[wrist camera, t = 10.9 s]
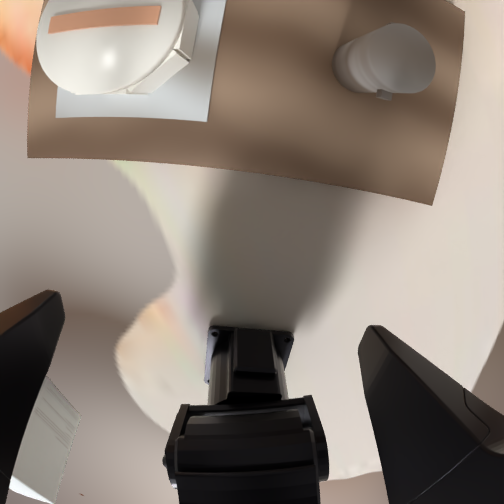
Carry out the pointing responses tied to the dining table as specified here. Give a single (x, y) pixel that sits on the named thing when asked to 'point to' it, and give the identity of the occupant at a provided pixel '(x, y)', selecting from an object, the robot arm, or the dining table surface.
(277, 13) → the post board
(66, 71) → the cap
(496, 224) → the dining table surface
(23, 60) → the dining table surface
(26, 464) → the supplement box
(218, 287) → the dining table surface
